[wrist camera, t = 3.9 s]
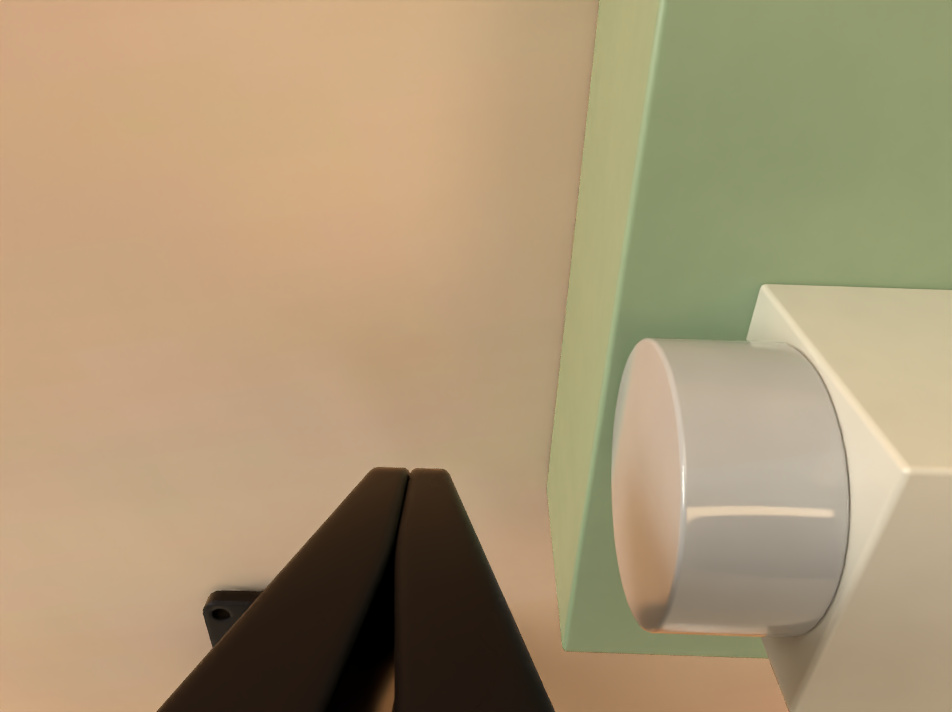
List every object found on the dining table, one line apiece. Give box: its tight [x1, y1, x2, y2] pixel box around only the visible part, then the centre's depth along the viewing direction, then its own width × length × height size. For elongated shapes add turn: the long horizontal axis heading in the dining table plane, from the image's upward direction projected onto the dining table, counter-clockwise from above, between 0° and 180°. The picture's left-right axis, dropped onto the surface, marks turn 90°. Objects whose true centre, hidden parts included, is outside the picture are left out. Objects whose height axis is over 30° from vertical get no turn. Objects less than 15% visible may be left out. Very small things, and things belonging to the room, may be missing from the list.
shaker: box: [611, 284, 952, 712], centre depth 8 cm, size 7×4×4 cm, turn 88°
